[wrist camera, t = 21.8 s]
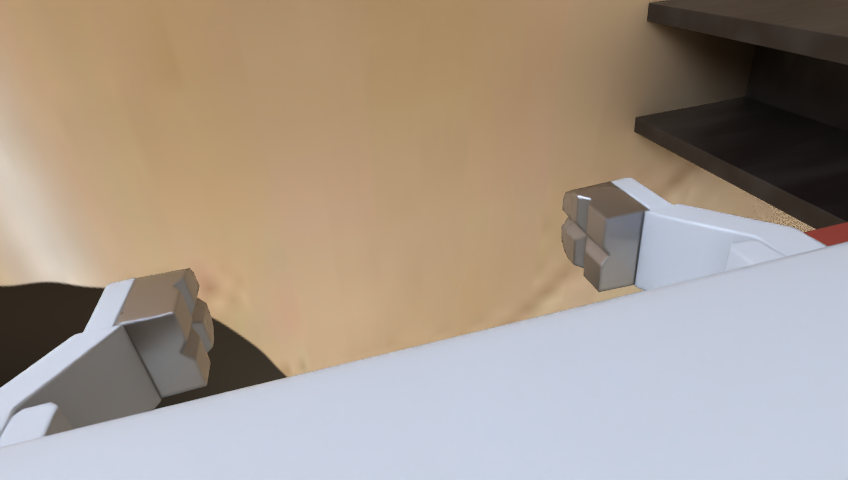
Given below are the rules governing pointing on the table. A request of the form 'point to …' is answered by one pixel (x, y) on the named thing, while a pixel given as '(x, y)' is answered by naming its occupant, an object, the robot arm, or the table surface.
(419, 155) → the table surface
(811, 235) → the red block
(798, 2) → the stand
